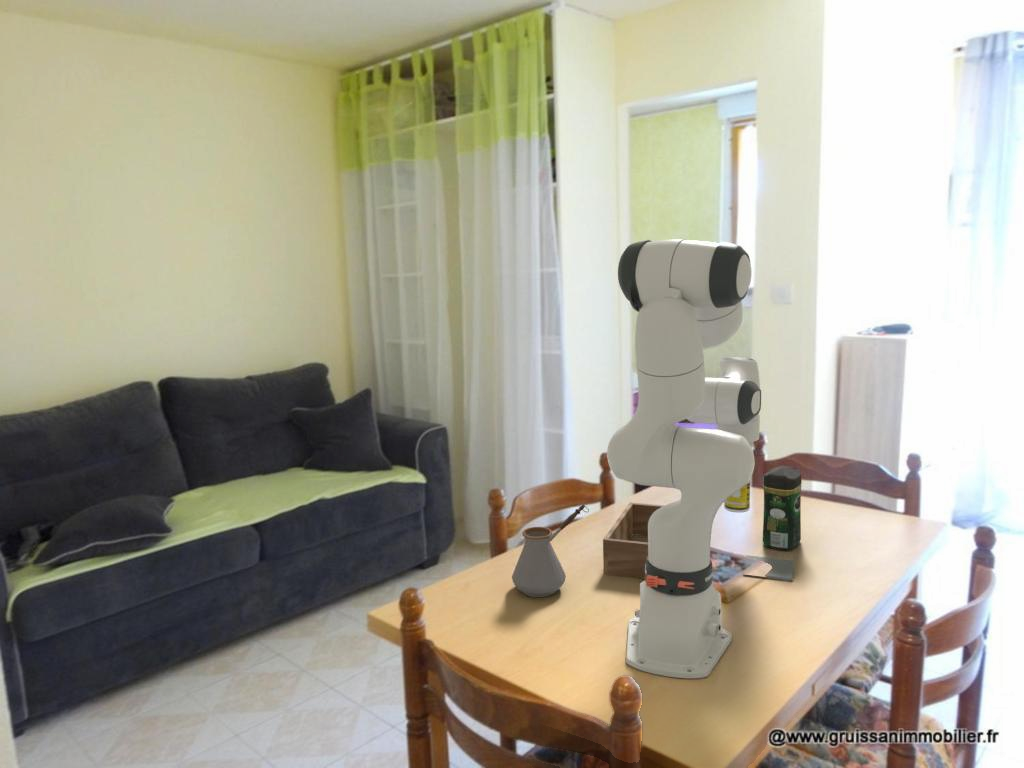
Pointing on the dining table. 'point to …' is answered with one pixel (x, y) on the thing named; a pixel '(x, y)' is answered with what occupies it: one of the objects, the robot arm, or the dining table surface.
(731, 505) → the supplement bottle
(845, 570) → the dining table surface
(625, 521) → the crate
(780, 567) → the coaster
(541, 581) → the coffee pot
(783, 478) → the coffee jar
